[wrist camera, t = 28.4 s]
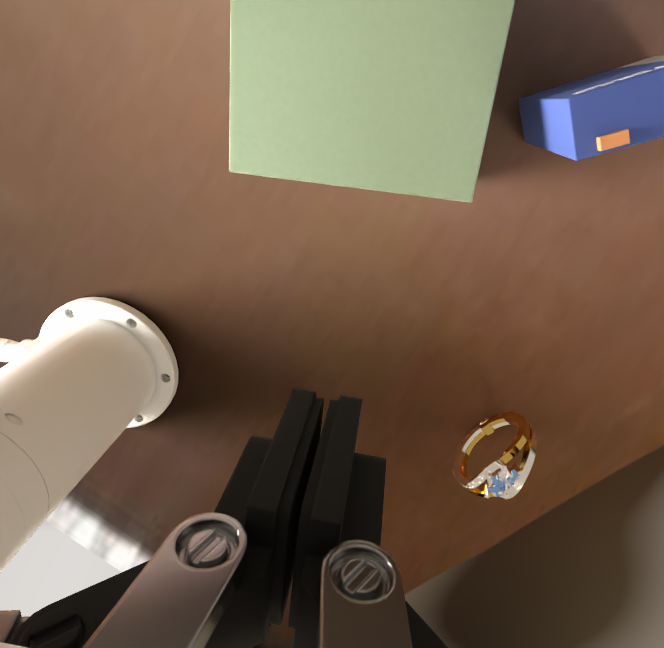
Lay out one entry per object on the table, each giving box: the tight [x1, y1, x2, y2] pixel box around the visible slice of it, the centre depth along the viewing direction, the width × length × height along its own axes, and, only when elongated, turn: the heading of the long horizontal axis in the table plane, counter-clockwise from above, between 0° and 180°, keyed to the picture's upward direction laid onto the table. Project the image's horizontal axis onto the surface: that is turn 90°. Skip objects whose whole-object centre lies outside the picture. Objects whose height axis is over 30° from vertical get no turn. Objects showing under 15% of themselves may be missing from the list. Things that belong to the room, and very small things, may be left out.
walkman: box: [518, 55, 664, 161], centre depth 27 cm, size 8×3×12 cm, turn 107°
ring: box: [453, 412, 536, 499], centre depth 39 cm, size 7×3×8 cm, turn 131°
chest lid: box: [229, 0, 515, 202], centre depth 26 cm, size 15×14×1 cm
